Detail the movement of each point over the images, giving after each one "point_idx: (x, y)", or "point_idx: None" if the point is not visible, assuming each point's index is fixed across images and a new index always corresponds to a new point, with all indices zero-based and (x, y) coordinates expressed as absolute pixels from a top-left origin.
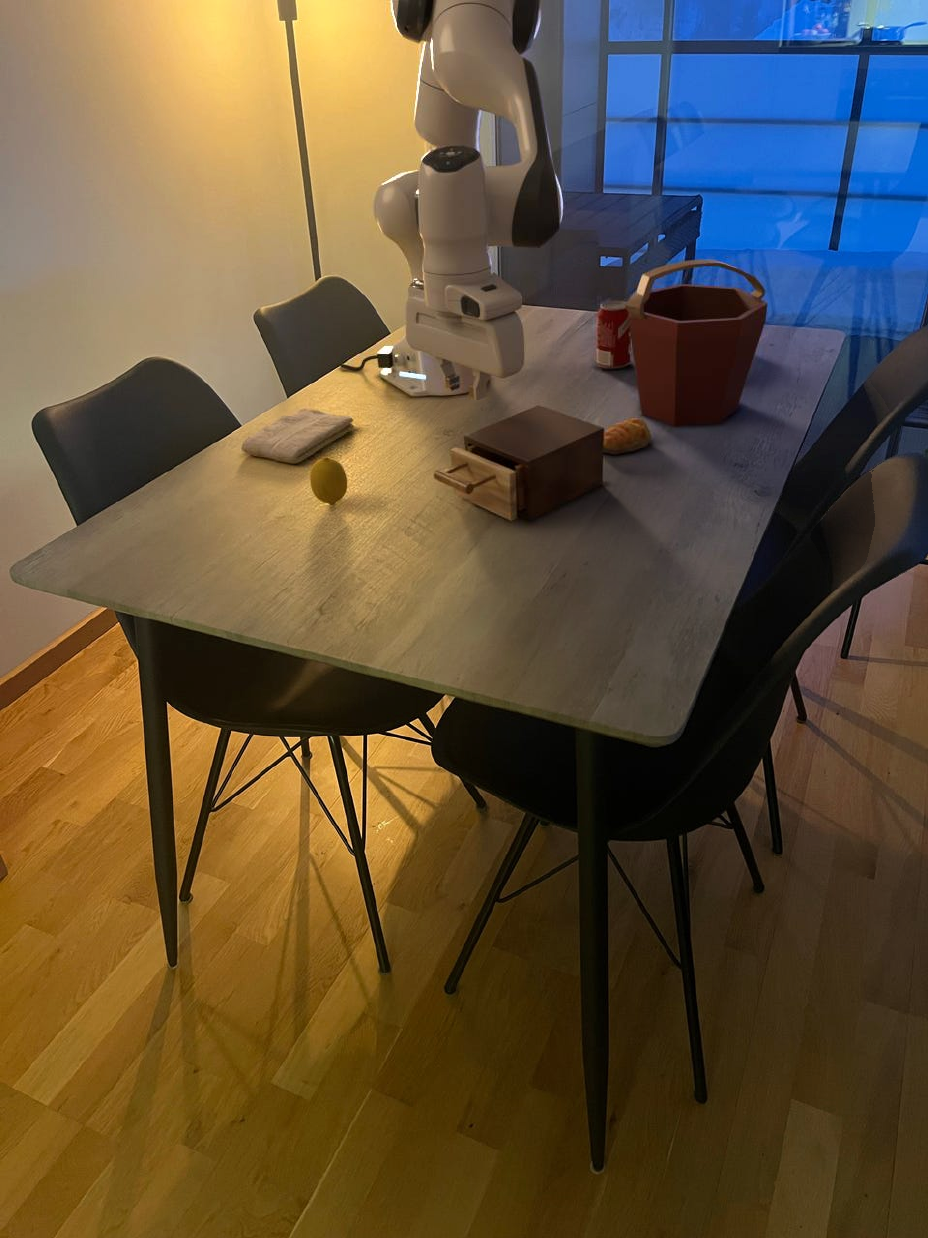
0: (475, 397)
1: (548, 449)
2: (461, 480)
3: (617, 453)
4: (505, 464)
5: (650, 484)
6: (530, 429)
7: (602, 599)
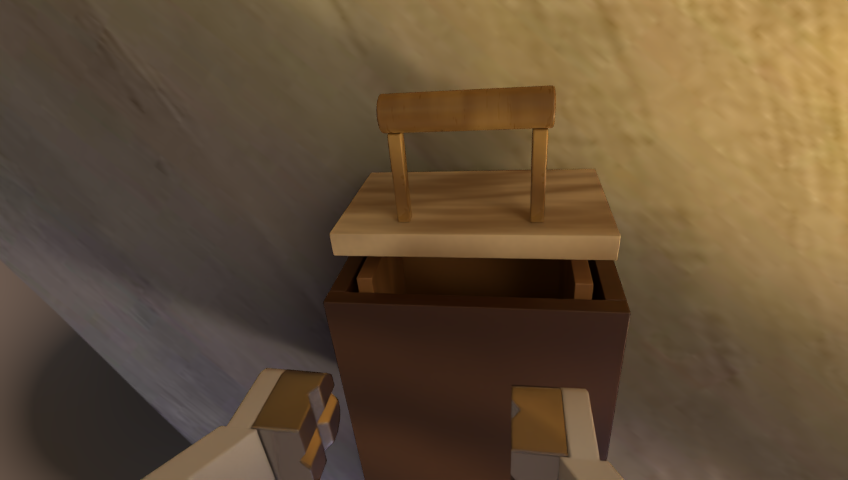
0: (266, 374)
1: (354, 375)
2: (415, 115)
3: None
4: None
5: (345, 423)
6: (492, 430)
7: (29, 95)
